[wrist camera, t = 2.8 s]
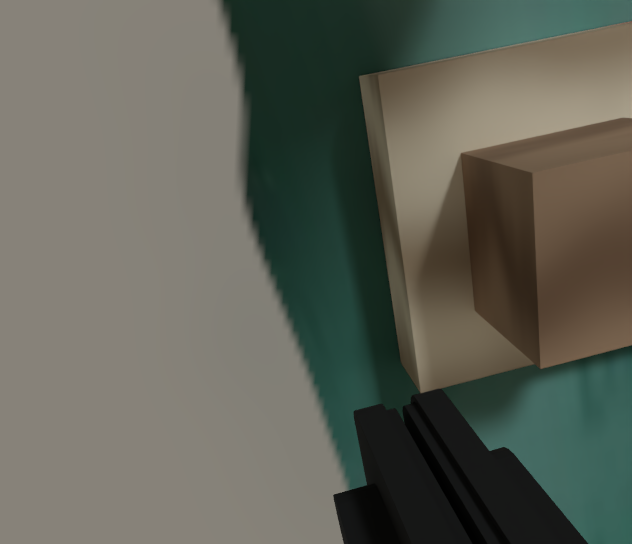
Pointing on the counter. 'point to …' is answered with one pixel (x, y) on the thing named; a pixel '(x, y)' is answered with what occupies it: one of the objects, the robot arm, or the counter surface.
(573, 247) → the walnut block
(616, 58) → the trap deck
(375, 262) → the counter surface
